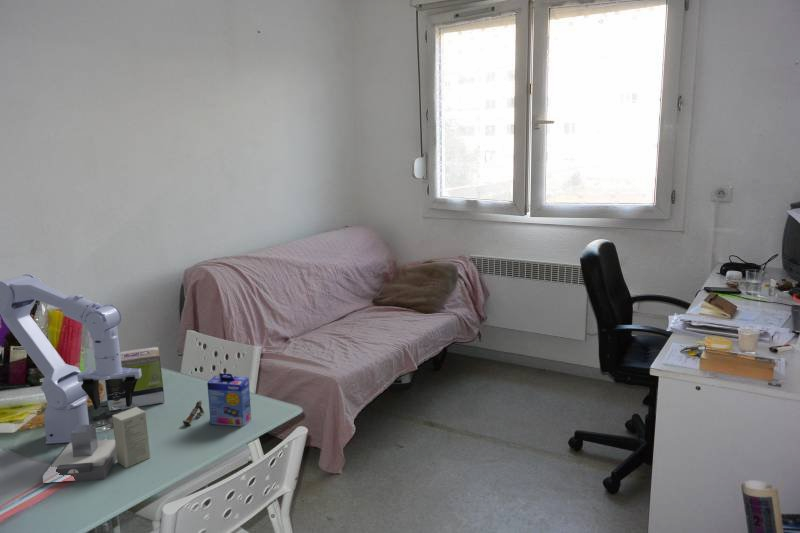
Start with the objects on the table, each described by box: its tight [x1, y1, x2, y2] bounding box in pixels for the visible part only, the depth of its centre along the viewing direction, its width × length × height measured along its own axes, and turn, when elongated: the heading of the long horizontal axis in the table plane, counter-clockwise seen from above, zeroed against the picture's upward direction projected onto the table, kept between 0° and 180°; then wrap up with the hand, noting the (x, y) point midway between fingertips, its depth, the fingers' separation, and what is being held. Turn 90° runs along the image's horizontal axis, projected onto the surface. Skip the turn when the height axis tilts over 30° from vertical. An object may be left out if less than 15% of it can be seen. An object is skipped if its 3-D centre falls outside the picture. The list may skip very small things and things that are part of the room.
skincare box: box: [111, 407, 151, 468], centre depth 140 cm, size 6×4×12 cm
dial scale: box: [50, 438, 117, 482], centre depth 139 cm, size 13×14×3 cm
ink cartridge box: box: [206, 373, 252, 427], centre depth 160 cm, size 10×6×14 cm, turn 81°
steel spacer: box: [71, 423, 98, 457], centre depth 139 cm, size 4×4×6 cm
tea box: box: [104, 346, 166, 411], centre depth 173 cm, size 15×10×15 cm, turn 115°
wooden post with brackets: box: [182, 400, 205, 427], centre depth 162 cm, size 2×8×4 cm, turn 165°
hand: (113, 406), depth 149 cm, fingers open, 7 cm apart
